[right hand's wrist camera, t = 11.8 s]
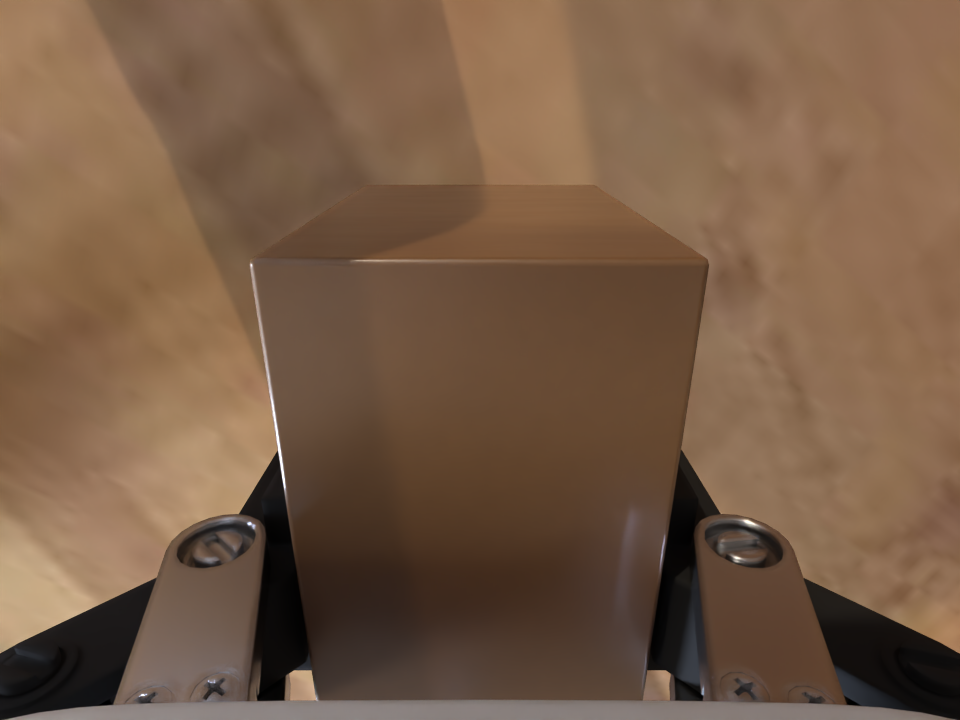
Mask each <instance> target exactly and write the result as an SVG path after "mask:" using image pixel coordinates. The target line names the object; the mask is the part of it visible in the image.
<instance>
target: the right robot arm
mask: <svg viewBox="0 0 960 720" xmlns="http://www.w3.org/2000/svg"><path fill="white" fill-rule="evenodd" d="M293 670H312V669H311V662H310V656H309V649H308V643H307V636H306V630H305V623H304V616H303V610H302V603H301V597H300V590H299V584H298V577H297V571H296V564H295V558H294V551H293V545H292V538H291V532H290V525H289V519H288V512H287V506H286V499H285V493H284V486H283V480H282V473H281V467H280V460H279V454H278V451H277V453H276V454H275V456H274V458H273V459H272V461H271V462H270V464H269V466H268V467H267V469H266V471H265V472H264V474H263V476H262V477H261V479H260V480H259V482H258V484H257V485H256V487H255V489H254V490H253V492H252V494H251V495H250V497H249V498H248V500H247V502H246V503H245V505H244V507H243V508H242V510H241V511H240V513H239V514H230V515H221V516H216V517H212V518H208V519H206V520H203V521H201V522H198V523H196V524H193V525H192V526H190V527H189V528H187V529H185V530H184V531H182V532H181V533H180V534H179V535H178V536H176V537H175V538H174V539H173V540H172V541H171V543H170V545H169V546H168V548H167V550H166V552H165V555H164V558H163V561H162V564H161V567H160V570H159V573H158V576H157V578H155V579H153V580H151V581H149V582H147V583H144V584H142V585H140V586H138V587H136V588H134V589H132V590H130V591H128V592H126V593H123V594H121V595H119V596H117V597H115V598H113V599H111V600H109V601H107V602H104V603H102V604H100V605H98V606H96V607H94V608H92V609H90V610H88V611H86V612H83V613H81V614H79V615H77V616H75V617H73V618H71V619H69V620H67V621H64V622H62V623H60V624H58V625H56V626H54V627H52V628H50V629H48V630H46V631H43V632H41V633H39V634H37V635H35V636H33V637H31V638H29V639H27V640H24V641H22V642H20V643H18V644H17V645H15V646H13V647H11V648H9V649H8V650H6V651H4V652H2V653H1V654H0V720H960V654H959V653H957V652H956V651H954V650H952V649H950V648H948V647H947V646H945V645H943V644H941V643H939V642H937V641H935V640H933V639H931V638H929V637H927V636H925V635H923V634H920V633H918V632H916V631H914V630H912V629H910V628H908V627H906V626H904V625H902V624H899V623H897V622H895V621H893V620H891V619H889V618H887V617H885V616H883V615H880V614H878V613H876V612H874V611H872V610H870V609H868V608H866V607H864V606H862V605H859V604H857V603H855V602H853V601H851V600H849V599H847V598H845V597H843V596H840V595H838V594H836V593H834V592H832V591H830V590H828V589H826V588H824V587H822V586H819V585H817V584H815V583H813V582H811V581H809V580H807V579H805V578H803V576H802V573H801V570H800V567H799V564H798V561H797V558H796V555H795V552H794V550H793V548H792V546H791V545H790V543H789V541H788V540H787V539H786V538H785V537H784V536H782V535H781V534H780V533H779V532H778V531H776V530H775V529H773V528H771V527H770V526H768V525H767V524H764V523H762V522H759V521H757V520H754V519H752V518H748V517H744V516H739V515H730V514H720V512H719V510H718V509H717V507H716V506H715V504H714V502H713V501H712V499H711V497H710V496H709V494H708V492H707V491H706V489H705V488H704V486H703V484H702V483H701V481H700V479H699V478H698V476H697V474H696V473H695V471H694V470H693V468H692V466H691V465H690V463H689V461H688V460H687V458H686V457H685V455H684V453H683V452H682V450H681V452H680V458H679V465H678V472H677V478H676V485H675V491H674V498H673V504H672V511H671V517H670V524H669V531H668V537H667V544H666V550H665V557H664V563H663V570H662V576H661V583H660V590H659V596H658V603H657V609H656V616H655V622H654V629H653V636H652V642H651V649H650V655H649V662H648V668H647V670H666V671H668V672H669V673H671V677H670V683H669V687H670V701H626V700H334V701H290V687H291V683H290V677H289V673H290V672H292V671H293Z"/></svg>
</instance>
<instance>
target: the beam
mask: <svg viewBox="0 0 960 720" xmlns="http://www.w3.org/2000/svg"><path fill="white" fill-rule="evenodd" d="M708 268H709V263H708V260H707V259H706V258H705V257H703V256H702V255H700V254H699V253H697V252H696V251H694V250H692V249H691V248H689V247H688V246H686V245H685V244H683V243H682V242H680V241H679V240H677V239H676V238H674V237H673V236H671V235H670V234H668V233H667V232H665V231H664V230H662V229H661V228H659V227H658V226H656V225H655V224H653V223H651V222H650V221H648V220H647V219H645V218H644V217H642V216H641V215H639V214H638V213H636V212H635V211H633V210H632V209H630V208H629V207H627V206H626V205H624V204H623V203H621V202H620V201H618V200H617V199H615V198H614V197H612V196H611V195H609V194H607V193H606V192H604V191H603V190H601V189H600V188H598V187H597V186H595V185H366V186H364V187H362V188H361V189H359V190H358V191H356V192H355V193H353V194H352V195H350V196H348V197H347V198H345V199H344V200H342V201H341V202H339V203H338V204H336V205H334V206H333V207H331V208H330V209H328V210H327V211H325V212H324V213H322V214H320V215H319V216H317V217H316V218H314V219H313V220H311V221H310V222H308V223H306V224H305V225H303V226H302V227H300V228H299V229H297V230H295V231H294V232H292V233H291V234H289V235H288V236H286V237H285V238H283V239H281V240H280V241H278V242H277V243H275V244H274V245H272V246H271V247H269V248H267V249H266V250H264V251H263V252H261V253H260V254H258V255H257V256H255V257H253V258H252V259H251V261H250V271H251V278H252V284H253V291H254V297H255V304H256V310H257V317H258V323H259V330H260V337H261V343H262V350H263V356H264V363H265V369H266V376H267V382H268V389H269V395H270V402H271V408H272V415H273V421H274V428H275V434H276V441H277V447H278V454H279V460H280V467H281V473H282V480H283V486H284V493H285V499H286V506H287V512H288V519H289V525H290V532H291V538H292V545H293V551H294V558H295V564H296V571H297V577H298V584H299V590H300V597H301V603H302V610H303V616H304V623H305V630H306V636H307V643H308V649H309V656H310V662H311V669H312V675H313V682H314V688H315V695H316V701H334V700H626V701H643V695H644V688H645V681H646V675H647V668H648V662H649V655H650V649H651V642H652V636H653V629H654V622H655V616H656V609H657V603H658V596H659V590H660V583H661V576H662V570H663V563H664V557H665V550H666V544H667V537H668V531H669V524H670V517H671V511H672V504H673V498H674V491H675V485H676V478H677V472H678V465H679V458H680V452H681V445H682V439H683V432H684V426H685V419H686V413H687V406H688V399H689V393H690V386H691V380H692V373H693V367H694V360H695V354H696V347H697V340H698V334H699V327H700V321H701V314H702V308H703V301H704V295H705V288H706V281H707V275H708Z"/></svg>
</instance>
